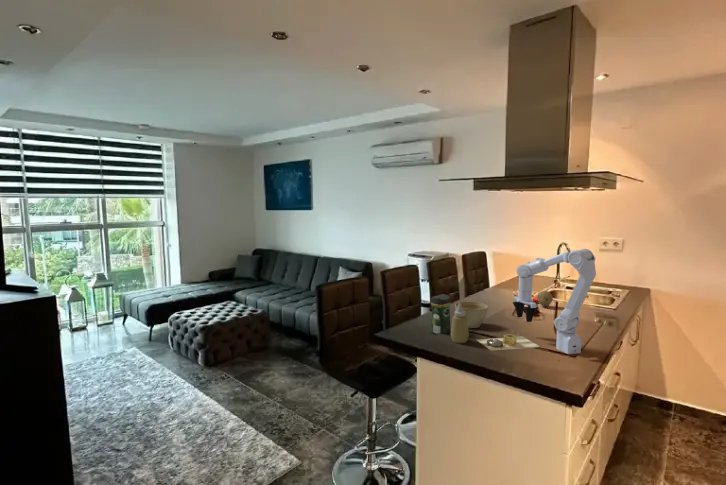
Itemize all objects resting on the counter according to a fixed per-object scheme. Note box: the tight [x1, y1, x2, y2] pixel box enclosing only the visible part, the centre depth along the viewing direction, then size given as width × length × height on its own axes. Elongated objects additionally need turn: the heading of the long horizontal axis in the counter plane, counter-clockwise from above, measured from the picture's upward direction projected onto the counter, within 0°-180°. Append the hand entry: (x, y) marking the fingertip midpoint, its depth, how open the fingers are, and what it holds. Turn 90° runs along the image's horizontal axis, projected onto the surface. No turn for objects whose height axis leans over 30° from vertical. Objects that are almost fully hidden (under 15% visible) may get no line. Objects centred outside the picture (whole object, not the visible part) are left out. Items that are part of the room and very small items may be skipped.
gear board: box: [476, 335, 541, 352], centre depth 179 cm, size 14×23×4 cm, turn 100°
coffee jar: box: [430, 293, 451, 335], centre depth 197 cm, size 10×8×19 cm
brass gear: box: [502, 333, 518, 346], centre depth 178 cm, size 6×6×4 cm
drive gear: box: [487, 338, 503, 348], centre depth 176 cm, size 7×7×2 cm
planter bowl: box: [454, 301, 489, 329], centre depth 207 cm, size 16×16×11 cm
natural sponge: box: [536, 290, 554, 308], centre depth 242 cm, size 9×9×10 cm
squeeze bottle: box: [450, 304, 470, 344], centre depth 181 cm, size 8×8×18 cm
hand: (524, 319), depth 186 cm, fingers open, 7 cm apart
